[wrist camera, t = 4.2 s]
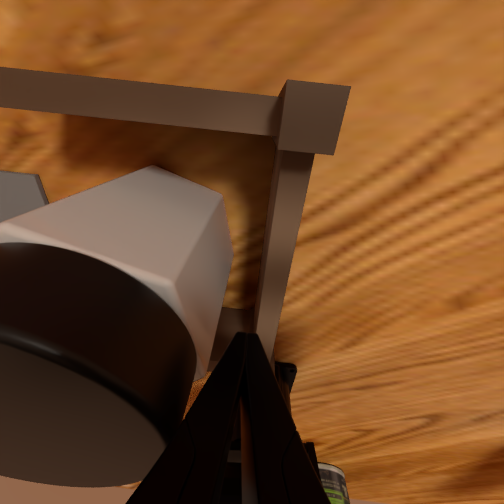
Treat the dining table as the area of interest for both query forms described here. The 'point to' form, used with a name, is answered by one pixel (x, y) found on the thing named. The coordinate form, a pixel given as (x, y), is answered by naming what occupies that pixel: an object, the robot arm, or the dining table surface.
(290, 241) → the brown u-shaped frame
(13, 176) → the bench mat
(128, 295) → the jar
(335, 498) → the coffee can
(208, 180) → the dining table surface
